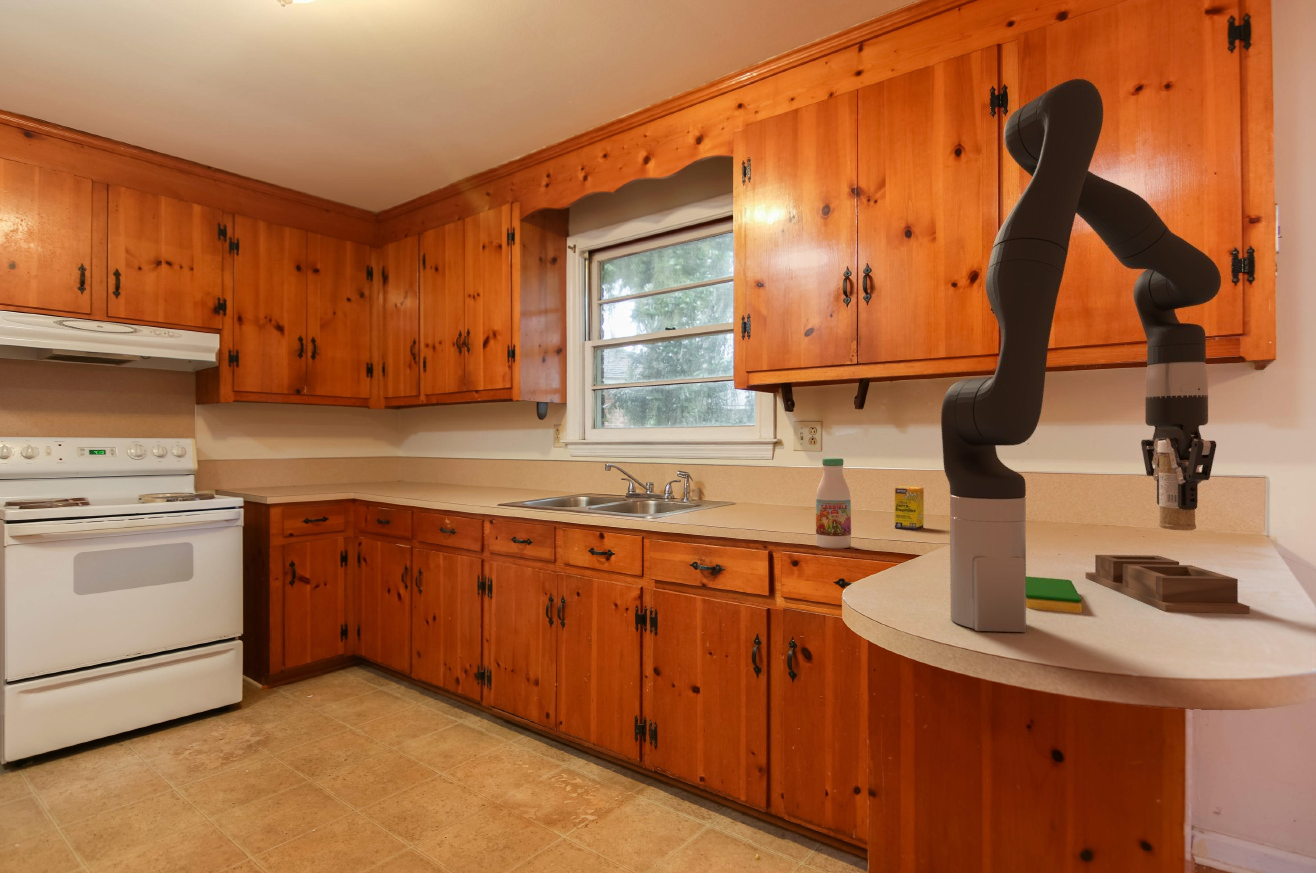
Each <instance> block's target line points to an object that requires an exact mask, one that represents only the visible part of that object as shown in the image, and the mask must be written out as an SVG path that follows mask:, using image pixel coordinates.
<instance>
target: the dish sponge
mask: <svg viewBox="0 0 1316 873" xmlns="http://www.w3.org/2000/svg"><path fill="white" fill-rule="evenodd" d="M1082 600H1083V599H1082V598H1081V595H1080V594H1079V592H1078V591H1077V589H1076V587H1075V585H1074V583H1073V582H1072V580H1070V579H1061V578H1054V577H1053V578H1052V577H1051V578H1050V577H1038V576H1037V577H1036V576H1028V575H1027V576H1026V609H1036V610H1045V611H1055V612H1056V611H1057V612H1064V613H1065V612H1067V613H1074V614H1076V613H1077V614H1078V613H1079V614H1080V613H1082V612H1083V611H1082V606H1083V605H1082V604H1083V603H1082Z"/></svg>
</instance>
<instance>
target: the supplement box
mask: <svg viewBox="0 0 1316 873" xmlns="http://www.w3.org/2000/svg"><path fill="white" fill-rule="evenodd" d="M924 488H925V487H922V486H921V487H916V486H903V485H901V486H896V487H895V488H894V529H899V530H902V529H903V530H913V531H919V530H922V529H923V528H924V520H925V519H924V517H925V516H924V513H925V512H924V508H925V507H924V506H925V504H924V502H925V501H924V493H925V492H924Z"/></svg>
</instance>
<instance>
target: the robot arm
mask: <svg viewBox="0 0 1316 873" xmlns="http://www.w3.org/2000/svg"><path fill="white" fill-rule="evenodd" d="M1103 123H1104V103H1103V99H1102V96H1101V94H1100V92H1099V90H1098V88H1097V87H1096V86H1095V84H1093V82H1091V81H1089V80H1086V79H1083V78H1073V79H1069V80H1067V81H1063V82H1062V83H1059V84H1057V85H1055V86H1053V87H1051V88H1050V89H1049V90H1047V91H1045V92H1044V93H1043V94H1040V95H1039V96H1037V97H1036V98H1034V99H1033V100H1030V101H1029V102H1028V103H1026V104H1024V105H1023V106H1021V107H1020V108H1018V109H1017V110H1016V111H1014V112H1013V113H1011V114H1010V116H1009V117H1008V119H1007V121H1006V123H1005V125H1004V130H1003V140H1004V144H1005V148H1006V150H1007V152H1008V154H1009V155H1010V157H1011V158H1012V159H1013V160H1014V161H1015V163H1017V165H1019V166H1020V168H1022V169H1023V171H1025V172H1026V173H1027V174H1028V175H1030V176H1031V177H1032V178H1031V179H1030V182H1029V183H1028V185H1027V187H1026V188H1025V190H1024V191H1023V193H1022V194H1021V196H1020V197H1019V198H1018V200H1017V201H1016V203H1015V205H1014V206H1013V207H1012V209H1011V210H1010V212H1009V214H1008V215H1007V217H1006V218H1005V220H1004V222H1003V223H1002V224H1001V226H1000V229H999V230H998V232H997V234H996V237H995V239H994V242H993V245H992V249H991V253H990V258H989V262H988V266H987V270H986V276H985V291H986V292H985V293H986V296H987V299H988V302H989V305H990V307H991V309H992V312H993V314H994V316H995V318H996V321H997V323H998V325H999V330H1000V335H1001V336H1000V338H1001V342H1000V350H999V355H998V356H999V358H998V360H997V366H996V370H995V372H994V375H993V376H986V377H976V378H966V379H962V380H959V381H957V382H955V383H953V384H952V385H951V386H950V387H949V388H948V389H947V390H946V393H945V395H944V397H943V400H942V405H941V412H940V414H941V415H940V416H941V417H940V419H941V420H940V421H941V422H940V425H941V427H940V428H941V442H942V458H943V459H942V460H943V462H942V463H943V469H944V473H945V476H946V478H947V481H948V483H949V510H950V511H949V550H950V551H949V552H950V553H949V554H950V555H949V558H950V559H949V561H950V562H949V567H950V568H949V569H950V570H949V575H950V578H949V580H950V581H949V582H950V584H949V585H950V588H949V589H950V620H951V621H952V622H954V623H956V624H958V625H961V626H964V627H967V628H971V629H973V630H974V631H976V632H977V631H978V632H1011V633H1015V632H1016V633H1025V632H1026V628H1027V608H1026V575H1027V570H1026V569H1027V547H1026V545H1027V544H1026V542H1027V539H1026V538H1027V537H1026V532H1027V531H1026V530H1027V529H1026V528H1027V527H1026V526H1027V525H1026V524H1027V523H1026V519H1027V514H1026V513H1027V512H1026V511H1027V508H1026V506H1027V502H1026V500H1027V499H1026V498H1027V497H1026V495H1027V493H1026V491H1027V490H1026V485H1027V484H1026V479H1025V477H1024V476H1023V475H1022V474H1020V473H1019V472H1017V471H1015V470H1013V469H1011V468H1009V467H1008V466H1006V465H1005V464H1004V463H1003V462H1002V461H1001V460H1000V458H999V457H998V454H997V453H998V452H997V448H996V447H998V446H999V447H1000V446H1002V447H1003V446H1004V447H1005V446H1006V447H1007V446H1017V445H1022V444H1024V443H1026V441H1028V440H1029V439H1030V438H1031V437H1032V435H1033V434H1034V432H1035V431H1036V428H1037V426H1038V423H1039V421H1040V418H1041V413H1042V407H1043V403H1044V402H1043V400H1044V393H1045V392H1044V391H1045V382H1046V373H1047V372H1046V371H1047V362H1048V352H1049V344H1050V338H1051V331H1052V326H1053V320H1054V317H1055V316H1054V314H1055V310H1056V307H1057V306H1056V305H1057V300H1058V295H1059V291H1060V287H1061V286H1062V281H1063V277H1064V271H1065V269H1066V268H1065V266H1066V263H1067V262H1066V261H1067V258H1068V254H1069V247H1070V240H1071V235H1072V230H1073V225H1074V223H1075V222H1074V221H1075V219H1076V215H1078V216H1079V217H1080V218H1081V219H1083V221H1084V222H1085V223H1086V224H1087V225H1088V226H1089V227H1090V228H1091V229H1092V230H1093V231H1094V232H1095V233H1096V234H1097V236H1098V237H1099V238H1100V239H1101V241H1102V242H1103V243H1104V244H1105V246H1106V247H1107V248H1108V249H1109V250H1110V252H1111V253H1112V254H1113V255H1114V257H1116V259H1117V261H1119V263H1121V264H1122V265H1123V266H1124V267H1126V268H1127V269H1130V270H1143V272H1141V274H1139V276H1138V277H1137V279H1136V281H1135V284H1134V286H1133V301H1134V304H1135V307H1136V311H1137V314H1138V317H1139V320H1140V322H1141V326H1142V329H1143V332H1144V334H1145V338H1146V342H1147V346H1146V347H1147V348H1146V349H1147V350H1146V355H1147V356H1146V357H1147V358H1146V361H1147V362H1146V364H1147V365H1146V366H1147V367H1146V368H1147V369H1146V374H1145V384H1144V385H1145V386H1144V387H1145V389H1144V390H1145V393H1144V395H1145V400H1144V402H1145V404H1144V406H1145V407H1144V408H1145V409H1144V410H1145V413H1144V414H1145V416H1144V418H1145V424H1146V425H1147V426H1149V427H1154V431H1153V435H1152V438H1149V439H1141V442H1140V444H1141V445H1140V446H1141V451H1142V456H1143V461H1144V462H1143V463H1144V467H1145V473H1146V474H1145V475H1147V477H1152V478H1153V480H1154V481H1156V504H1157V505H1158V506H1159V472H1160V471H1159V455H1158V454H1159V452H1158V441H1163V440H1165V441H1166V442H1167V449H1168V450H1170V453H1169V455H1170V461H1171V466H1172V468H1173V469H1175V470H1176V473H1177V477H1178V482H1179V483H1180V484H1178V507H1179V508H1180V509H1184V510H1195V511H1196V509H1197V508H1198V498H1199V497H1198V496H1199V495H1198V489H1199V488H1198V485H1200V484H1201V483H1202V482H1203V481H1209V480H1210V479H1211V478H1210V477H1211V473H1212V469H1213V462H1214V458H1215V453H1216V449H1217V442H1216V441H1215V440H1205V439H1203V438H1202V435H1201V432H1200V426H1206V425H1208V423H1209V376H1208V370H1207V364H1206V361H1207V356H1206V355H1207V354H1206V352H1207V351H1206V350H1207V348H1206V347H1207V346H1206V345H1207V344H1206V341H1207V340H1206V338H1207V337H1206V331H1205V329H1204V328H1203V326H1202V325H1201V324H1200V325H1199V324H1195V323H1188V322H1180V321H1179V319H1178V317H1177V315H1176V312H1175V310H1178V309H1184V308H1189V307H1195V306H1201V305H1203V304H1206V303H1208V302H1210V301H1212V300H1213V299H1214V298H1215V297H1216V296H1217V295H1218V293H1219V292H1220V289H1221V286H1222V277H1221V272H1220V270H1219V268H1218V266H1217V264H1216V263H1215V262H1214V261H1213V259H1211V258H1210V256H1208V255H1207V254H1206V253H1205V252H1203V251H1201V250H1200V249H1199V248H1197V247H1196V246H1194V245H1192V244H1191V243H1190V242H1187V240H1185V239H1184V238H1181V237H1180V236H1179V235H1177V234H1175V233H1173V232H1172V231H1171V230H1170V229H1169V227H1168V226H1167V225H1166V224H1165V222H1164V221H1163V220H1162V219H1161V217H1160V215H1158V213H1157V212H1156V211H1155V209H1154V208H1153V207H1152V205H1151V204H1149V203H1148V201H1146V200H1145V199H1144V198H1143V197H1142V196H1141V195H1139V194H1137V193H1136V192H1134V191H1132V190H1130V189H1128V188H1127V187H1123V186H1122V185H1118V184H1117V183H1115V182H1112V181H1110V180H1107V179H1105V178H1102V177H1101V176H1098V175H1096V174H1095V173H1093V172H1092V171H1089V168H1090V166H1091V162H1092V159H1093V156H1094V154H1095V151H1096V148H1097V145H1098V142H1099V138H1100V136H1101V133H1102V128H1103ZM1176 445H1177V446H1176ZM1180 460H1189V462H1181V461H1180ZM1185 468H1187V473H1185ZM1200 468H1201V471H1200Z"/></svg>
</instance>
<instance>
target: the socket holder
mask: <svg viewBox="0 0 1316 873" xmlns="http://www.w3.org/2000/svg"><path fill="white" fill-rule="evenodd" d="M1094 556H1095V559H1094V560H1095V561H1094V562H1095V563H1094V564H1095V566H1094V567H1095V569H1094V570H1095V571H1094V572H1091V571H1090V572H1089V571H1088V572H1085V579H1087V580H1088V581H1089V580H1090V581H1092V582H1094V583H1096V584H1099V585H1102V586H1104V587H1106V588H1109V589H1111V590H1113V591H1115V592H1118V593H1121V595H1122V594H1123V595H1125V596H1127V597H1130V598H1133V599H1135V600H1137V601H1140V602H1142V603H1144V604H1146V605H1149V606H1151V607H1154V608H1156V609H1159V610H1161V611H1162V612H1168V613H1169V612H1170V613H1171V612H1173V613H1215V614H1217V613H1218V614H1227V613H1228V614H1250V605H1247V604H1244V603H1241V602H1239V601H1238V600H1239V599H1238V598H1239V597H1238V596H1239V595H1238V594H1239V593H1238V591H1239V589H1238V588H1239V587H1238V586H1239V585H1238V582H1239V580H1238V578H1236V577H1232V576H1228V575H1225V574H1221V573H1219V572H1215V571H1211V570H1209V569H1205V568H1202V567H1198V566H1196V565H1190V564H1180V561H1178V560H1175V559H1171V558H1169V557H1168V558H1167V557H1165V556H1160V555H1154V554H1152V555H1147V554H1143V555H1139V554H1138V555H1136V554H1134V555H1133V554H1129V555H1128V554H1095V555H1094Z"/></svg>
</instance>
